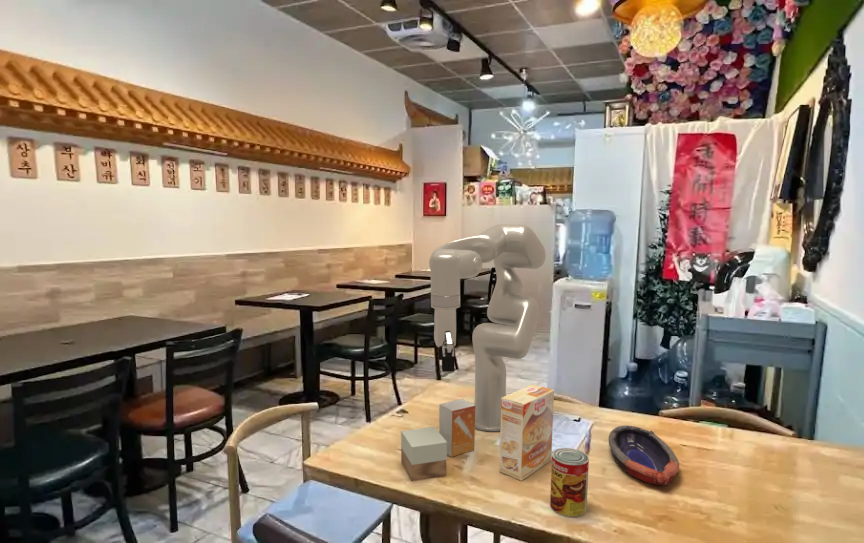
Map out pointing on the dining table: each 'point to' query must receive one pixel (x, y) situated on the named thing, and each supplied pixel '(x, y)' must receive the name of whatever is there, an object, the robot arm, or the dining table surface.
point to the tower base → (423, 469)
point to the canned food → (569, 482)
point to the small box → (457, 426)
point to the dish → (643, 454)
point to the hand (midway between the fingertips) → (446, 365)
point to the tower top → (423, 445)
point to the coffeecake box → (526, 431)
